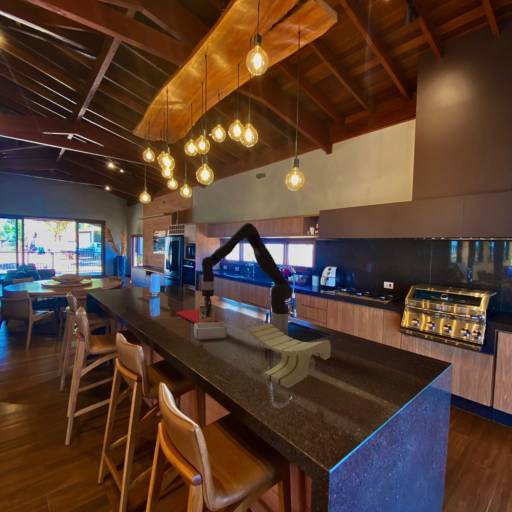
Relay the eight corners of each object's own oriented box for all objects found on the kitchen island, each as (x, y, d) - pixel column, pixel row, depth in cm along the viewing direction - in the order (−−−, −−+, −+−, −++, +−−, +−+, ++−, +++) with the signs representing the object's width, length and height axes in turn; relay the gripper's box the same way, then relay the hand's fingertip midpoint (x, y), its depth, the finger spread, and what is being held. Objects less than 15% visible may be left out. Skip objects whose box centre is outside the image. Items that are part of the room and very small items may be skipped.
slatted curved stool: (328, 382, 110) (331, 338, 109) (307, 397, 98) (309, 347, 98) (270, 359, 130) (272, 322, 130) (247, 369, 118) (249, 328, 118)
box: (226, 337, 159) (226, 327, 158) (196, 339, 153) (196, 328, 153) (221, 331, 170) (222, 321, 170) (193, 333, 164) (194, 323, 164)
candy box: (198, 330, 170) (199, 305, 170) (199, 328, 175) (200, 304, 174) (213, 330, 171) (214, 306, 170) (213, 328, 175) (214, 304, 175)
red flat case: (194, 312, 217) (195, 308, 217) (222, 325, 185) (222, 320, 185) (175, 315, 207) (175, 310, 207) (201, 329, 175) (201, 323, 175)
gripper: (216, 290, 167) (215, 318, 167) (212, 286, 180) (210, 312, 181) (203, 290, 164) (202, 318, 165) (200, 286, 178) (199, 312, 178)
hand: (207, 315), depth 173 cm, fingers closed on candy box, 5 cm apart
